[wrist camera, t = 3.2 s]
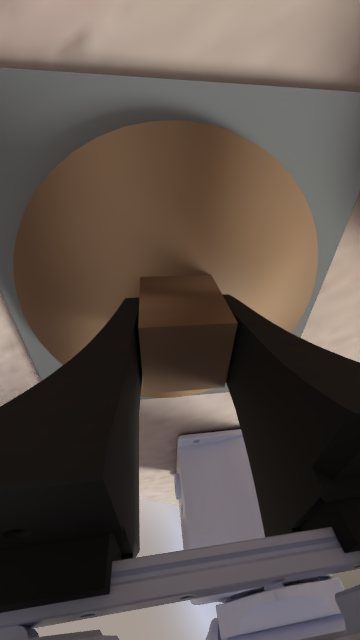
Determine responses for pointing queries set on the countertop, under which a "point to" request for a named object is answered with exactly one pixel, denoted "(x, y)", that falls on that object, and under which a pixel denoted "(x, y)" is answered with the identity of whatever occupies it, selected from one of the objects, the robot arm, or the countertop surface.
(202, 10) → the countertop surface
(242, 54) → the countertop surface
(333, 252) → the mat
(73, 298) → the lid
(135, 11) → the countertop surface
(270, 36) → the countertop surface
